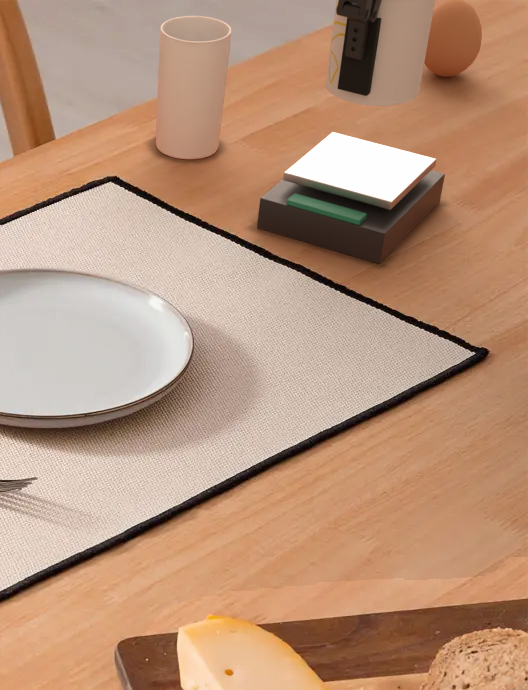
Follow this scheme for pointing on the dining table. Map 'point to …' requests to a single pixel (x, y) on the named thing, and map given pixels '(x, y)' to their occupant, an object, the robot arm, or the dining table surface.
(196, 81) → the mug
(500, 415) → the dining table surface
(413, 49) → the white cylinder
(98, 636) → the dining table surface
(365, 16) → the robot arm
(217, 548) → the dining table surface
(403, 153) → the scale pan
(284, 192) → the scale
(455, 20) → the egg
